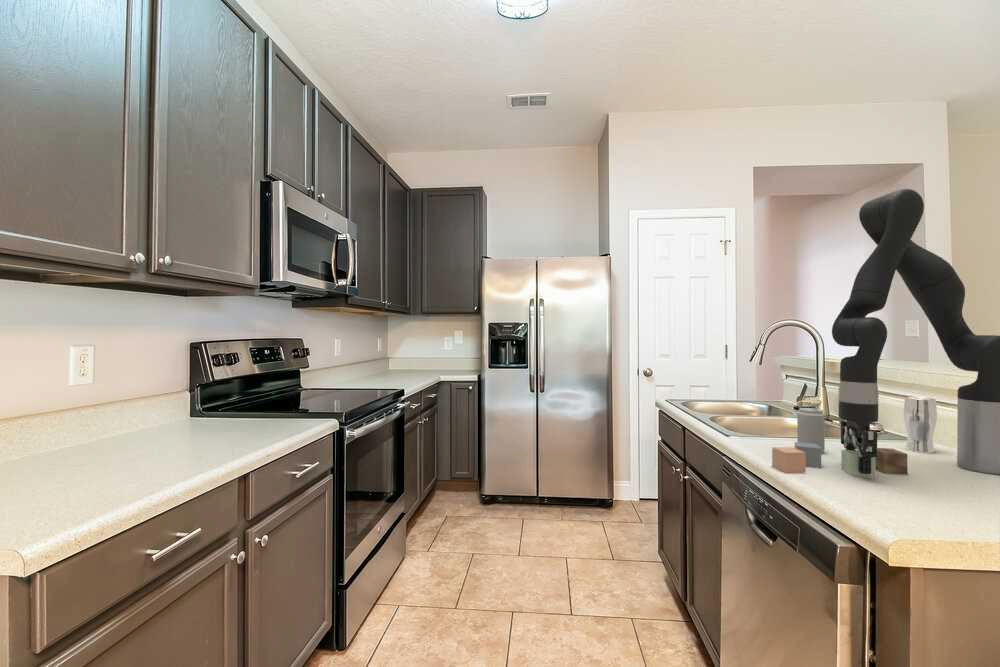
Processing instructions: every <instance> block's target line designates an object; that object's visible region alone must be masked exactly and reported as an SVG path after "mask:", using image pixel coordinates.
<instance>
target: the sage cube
mask: <svg viewBox="0 0 1000 667" xmlns="http://www.w3.org/2000/svg"><path fill="white" fill-rule="evenodd" d="M875 458H876V457H873V458H871V474H862V473H860V472H859V471H858V465H859V455H858V451H853V450H845V449H841V471H843V472H844V473H846V474H847V475H849V476H851V477H861V478H862V477H863V478H873V479H875V478H876V470H875Z"/></svg>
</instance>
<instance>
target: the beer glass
mask: <svg viewBox="0 0 1000 667" xmlns="http://www.w3.org/2000/svg"><path fill="white" fill-rule="evenodd" d="M937 408H938V407H937V400H936V399H935V398H930V397H924V396H922V397H921V396H905V397H904V404H903V417H904V418H903V419H904V423H905V424H904V425H905V429H906V434H907V435H906V436H907V437H906V438H907V439H906V444H905V449H906V450H907V451H910V450H911V452H914V451H916V452H915V453H920V452H923V453H922V454H934V453H935V451H936V450H935V447H934V441H933V438H934V433H935V429H936V425H937V420H938V419H937V418H938V409H937Z"/></svg>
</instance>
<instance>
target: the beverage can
mask: <svg viewBox="0 0 1000 667" xmlns="http://www.w3.org/2000/svg"><path fill="white" fill-rule="evenodd" d="M796 416H797V418H796V419H797V420H796V421H797V425H796V426H797V428H796V429H797V431H796V432H797V441H796V442H801V443H812V444H818V445H819V446H820V448H821V454H822V453H823V452H825V450H826V449H825V446H826V444H825V443H826V442H825V440H826V439H825V432H826V431H825V424H826V423H825V420H826V419H825V414H824V410H823V409H820V408H813V407H812V408H811V407H800V408H798V411H797V415H796Z"/></svg>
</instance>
